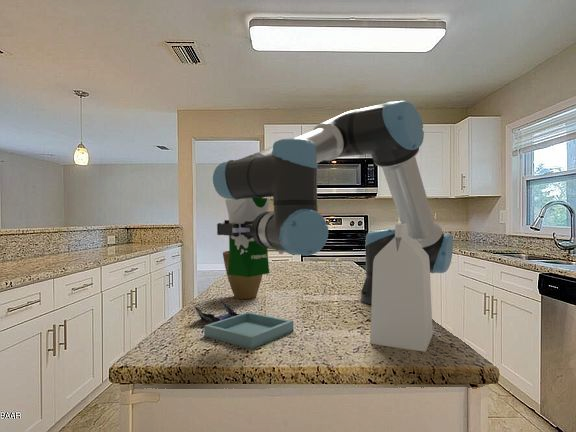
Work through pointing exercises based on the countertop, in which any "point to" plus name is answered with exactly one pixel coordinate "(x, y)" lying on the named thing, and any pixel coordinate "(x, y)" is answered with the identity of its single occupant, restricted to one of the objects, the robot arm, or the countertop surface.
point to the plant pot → (242, 282)
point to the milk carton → (246, 239)
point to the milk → (401, 294)
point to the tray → (248, 329)
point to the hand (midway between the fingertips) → (242, 227)
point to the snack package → (221, 317)
